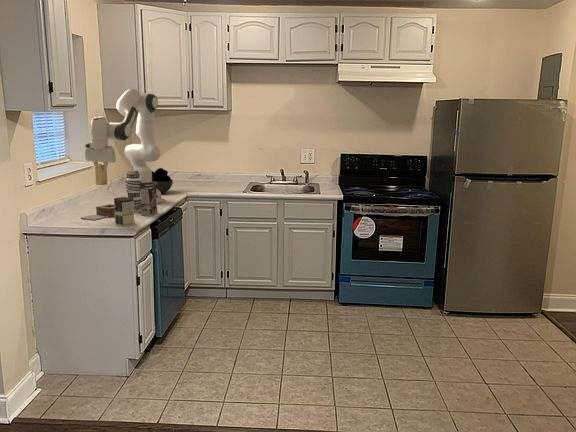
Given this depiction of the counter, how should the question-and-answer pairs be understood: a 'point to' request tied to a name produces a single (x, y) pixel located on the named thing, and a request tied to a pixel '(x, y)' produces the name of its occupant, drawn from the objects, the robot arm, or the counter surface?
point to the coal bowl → (161, 180)
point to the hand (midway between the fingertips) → (101, 169)
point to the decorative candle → (134, 188)
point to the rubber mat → (93, 217)
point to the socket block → (106, 210)
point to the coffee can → (124, 211)
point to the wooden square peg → (100, 174)
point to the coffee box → (148, 201)
